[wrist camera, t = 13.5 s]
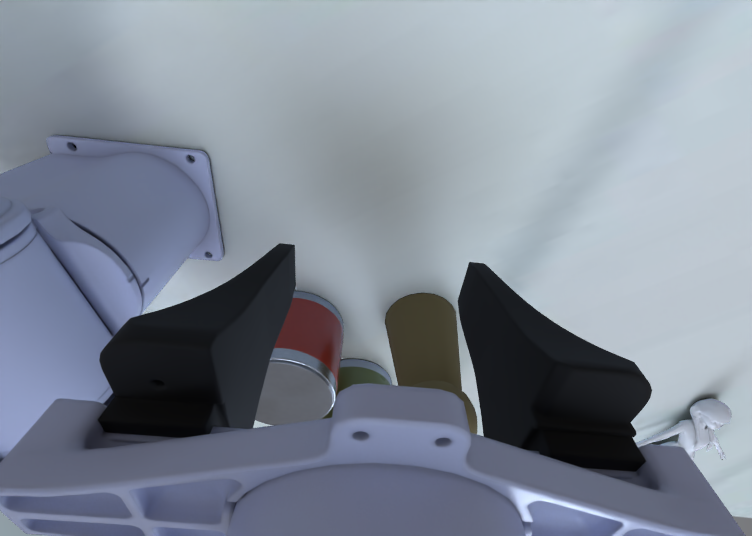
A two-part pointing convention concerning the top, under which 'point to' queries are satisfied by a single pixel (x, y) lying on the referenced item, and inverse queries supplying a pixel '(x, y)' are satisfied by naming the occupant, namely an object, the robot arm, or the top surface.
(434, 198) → the top surface
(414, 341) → the cork
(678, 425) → the woman figurine
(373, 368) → the green tin
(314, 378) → the red tin
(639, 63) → the top surface
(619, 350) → the top surface
